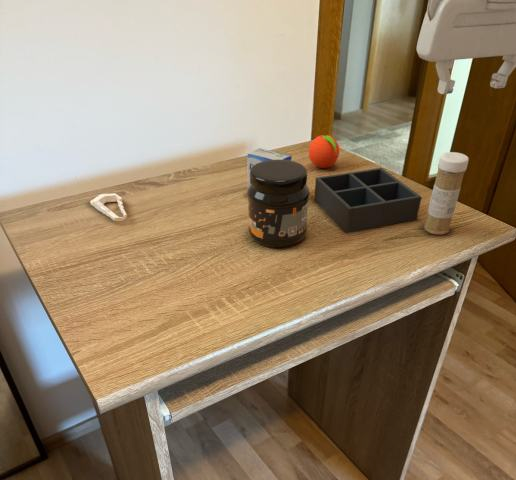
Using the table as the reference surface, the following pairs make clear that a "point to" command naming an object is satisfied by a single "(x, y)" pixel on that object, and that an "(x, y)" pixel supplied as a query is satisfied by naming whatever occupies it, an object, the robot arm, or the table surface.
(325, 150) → the clementine
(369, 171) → the rack
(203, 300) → the table surface
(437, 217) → the sprinkles bottle
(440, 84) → the robot arm
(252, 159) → the medicine box
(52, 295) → the table surface
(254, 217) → the supplement container
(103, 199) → the cream triangular ring
